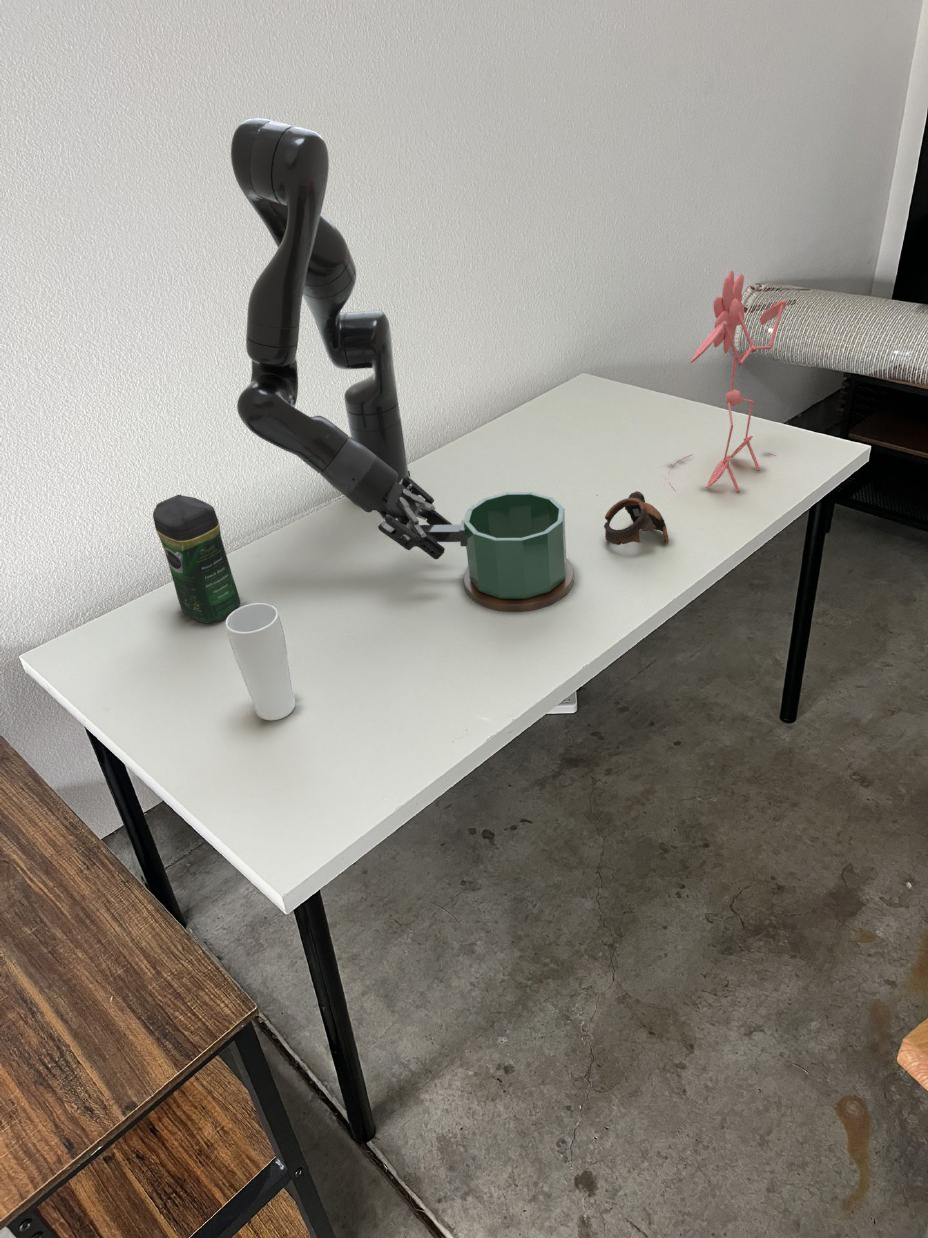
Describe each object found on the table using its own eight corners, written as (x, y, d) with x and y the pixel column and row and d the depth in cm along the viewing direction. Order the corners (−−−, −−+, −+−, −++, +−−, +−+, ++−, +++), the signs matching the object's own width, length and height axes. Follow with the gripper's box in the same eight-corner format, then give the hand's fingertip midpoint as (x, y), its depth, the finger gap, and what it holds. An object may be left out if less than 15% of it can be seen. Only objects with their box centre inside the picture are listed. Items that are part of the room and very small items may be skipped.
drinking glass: (253, 696, 130) (227, 605, 122) (302, 690, 130) (280, 599, 122) (248, 729, 125) (221, 636, 116) (300, 722, 125) (276, 629, 116)
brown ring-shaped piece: (675, 555, 150) (653, 523, 145) (621, 576, 154) (597, 545, 149) (668, 503, 158) (647, 470, 153) (616, 524, 162) (594, 493, 157)
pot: (568, 547, 151) (566, 491, 146) (562, 599, 140) (560, 540, 134) (417, 548, 156) (409, 493, 150) (399, 598, 144) (390, 541, 138)
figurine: (781, 451, 175) (802, 254, 155) (723, 513, 159) (739, 301, 139) (703, 437, 183) (713, 247, 163) (640, 494, 167) (643, 291, 147)
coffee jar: (250, 607, 149) (222, 501, 138) (207, 631, 144) (174, 523, 134) (216, 587, 155) (186, 484, 144) (174, 609, 150) (140, 505, 140)
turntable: (460, 614, 142) (460, 607, 141) (467, 554, 156) (466, 548, 155) (576, 609, 140) (575, 602, 139) (572, 549, 154) (572, 542, 153)
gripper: (362, 480, 133) (453, 552, 138) (384, 436, 145) (467, 504, 149) (332, 514, 137) (421, 582, 142) (355, 469, 149) (438, 534, 153)
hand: (445, 542), depth 146 cm, fingers open, 6 cm apart
